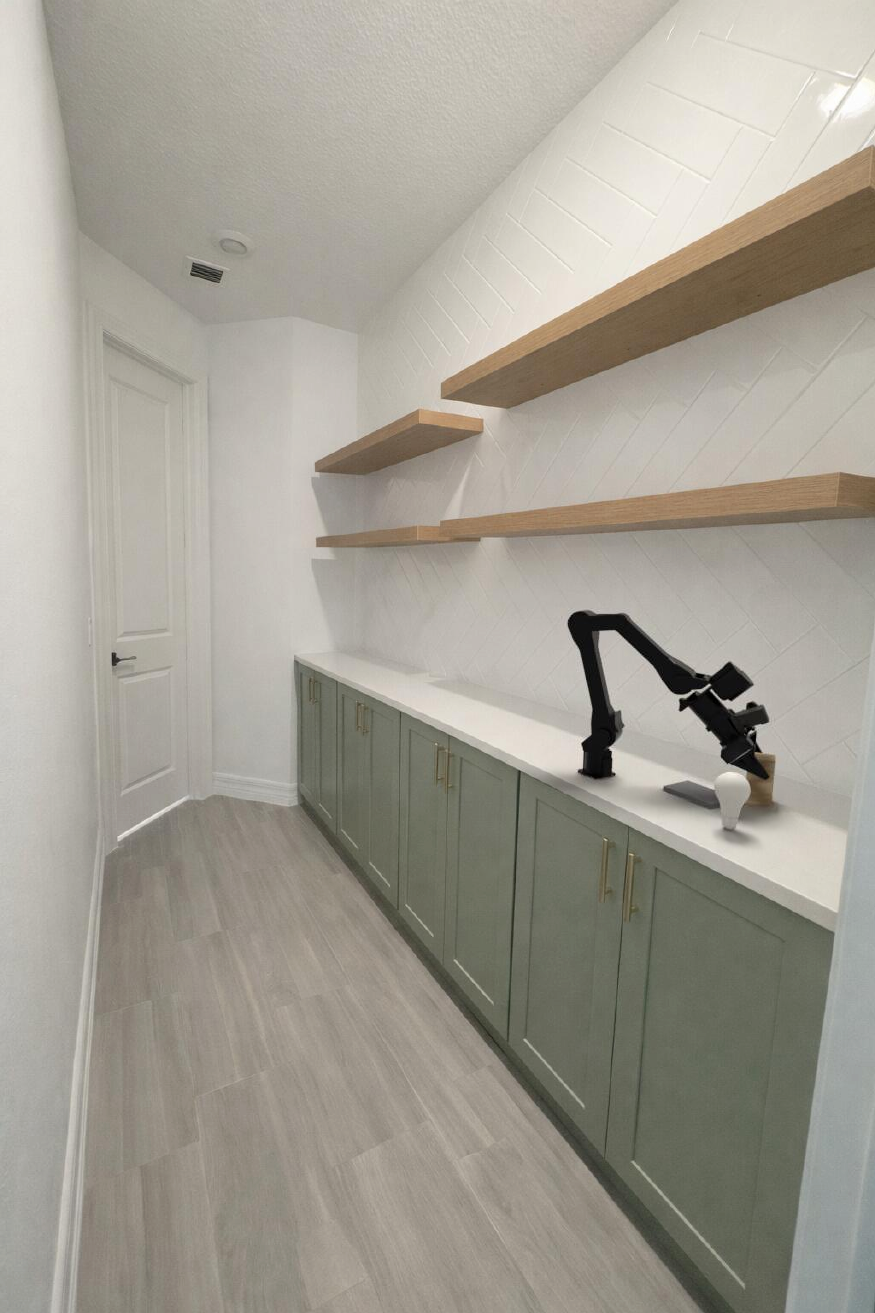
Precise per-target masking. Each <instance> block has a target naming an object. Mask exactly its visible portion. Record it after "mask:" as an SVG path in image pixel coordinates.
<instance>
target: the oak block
mask: <svg viewBox="0 0 875 1313" xmlns="http://www.w3.org/2000/svg"><path fill="white" fill-rule="evenodd" d="M755 755H756V757H757V758H758V760H759V761H760V763H761V764H762V766H763V767H764V769H765V770H766V772H767V773H768V775H769V776H770V777H769V778H768V779H767V780H764V779H762V778H760V777H758V776H756V775H754V774H752V773H750V772H747V771H746V777H745V778H746V779H747V781H748V782H749V785H750V789H751V792H750V796H749V798H748V799H747V801H746V802H745V803H744V804H745V805H751V806H755V807H761V808H767V809H772V802H773V792H774V784H775V772H776V755H775V754H770V753H764V752H763V753H756V752H755ZM744 804H743V805H744Z"/></svg>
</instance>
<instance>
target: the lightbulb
mask: <svg viewBox="0 0 875 1313" xmlns="http://www.w3.org/2000/svg"><path fill="white" fill-rule="evenodd" d="M713 790H715V793H716V796H717V798H718V800H719V802H720V814H721V825H722V827H724V828H725V829H727V830H733V829H735V828H737V826H738V819H739V817H740V813H741V810H742V807H743V806H744V803H745V802H746V801H747V799H748V798H749V796H750V792H751V789H750V785H749V782H748V781H747V779H746V777H745V776H744V775H742V774H740V773H739V772H736V771H728V772H726V771H725V772H723V773H721V774H719V776H717V778H716V779H715V780H714V784H713Z"/></svg>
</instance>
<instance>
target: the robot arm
mask: <svg viewBox="0 0 875 1313" xmlns="http://www.w3.org/2000/svg"><path fill="white" fill-rule="evenodd" d="M567 629H568V631H569V633H570V637H571V638H572V641H573V642H574V644H575V645H576V647H577V648H578V650H579V654H580V657H581V663H582V664H581V665H582V667H583V668H582V669H583V672H584V676H585V682H586V686H587V690H588V691H587V692H588V694H589V699H590V706H591V709H592V710H591V719H590V735H589V736H588V737H587V738H585V739H584V740H583V741H582V742H581V743H580V745H581V749H582V751H583V752H582V753H583V755H582V768H579V769H577V772H578V773H580V774H583V775H585V776H587V777H589V778H591V779H594V780H599V779H605V778H609V777H613V776H616V775H617V774H616V772H613V759H614V758H613V750H611V749H610V747H612V746H613V745H614V744H616V742H617V741H618V740H619V739H620V738H621V737H622V735H623V731H624V730H623V729H624V728H625V724H624V722H623V718H622V710H621V709H618V710H616V711H615V709H614V707H613V705H612V703H611V700H610V694H609V691H608V685H607V681H606V675H605V672H604V667H603V662H602V657H601V654H600V648H599V642H600V633H601V632H606V631H607V632H609V631H615V632H617V633H618V634H619V635H620V636H621V637H622V638H623V639H624V641H626V642H627V643H628V644H629V645H630V646H631V647H632V648H634V649H635V650H636V651H637V652H638V653H639V654H640V656H642V657H643V658H644V659H645V660H646V661H647V662H648V663H649V664H650V665H651V666H652V667H653V669H654V670H655V671H656V672H657V675H658V676H659V678H660V679H661V681H662V682H663V683H664V685H665V686H666V687H667V689H668V690H669V692H671V693H672V694H673V695H675V696H684V695H688V694H689V693H690V694H689V695H688V696H687V697H680V698H679V699H678V702H679V705H678V706H679V707H678V711H679V712H680V713H681V712H683V711H684V710H686V709H687V708H689V709H690V710H691V711H692V713H693V714H694V715H695V716H696V717H697V718H698V719H699V720H700V721H701V722H702V724H703V725H704V726H705V730H706V731H707V732H708V733H709V732H710V733H712V735H714V737H716V739H717V740H718V741H719V745H720V746H721V750H720V758H721V759H722V760H723V762H724V763H725V764H726V765H731V766H734V767H737V768H739V769H742V770H744V771H746V773H747V772H750V773H752V774H754V775H756V776H758V777H760V778H762V779H764V780H767V779H768V778H769V777H770V776H769V775H768V773H767V772H766V770H765V769H764V767H763V766H762V764H761V763H760V761H759V760H758V758H757V757H756V755H755V752H756V753H764V752H763V751H762V749H761V747H760V746H759V744H758V742H757V736H758V730H757V729H756V728H757V727H756V726H759V725H761V726H762V725H766V724H768V723H770V717H769V714H768V712H767V710H766V707H765V705H764V704H761V703H760V704H758V703H757V702H755V701H754V700H752V701H749V702H746V705H745V709H741V710H740V711H737V712H736V711H735V710H734V709H733V708H730V707H729V708H727V707H726V706H725V704H724V703H723V702H724V701H727V700H728V701H730V702H733V701H735V699H738V698H739V697H740V696H741V695H742V694H744V693H745V692H747V691H748V690H749V689H751V688H752V687H754V686H755V683H754V682H753V680H752V679H751V678H750V676H748V674H747V673H746V672H745V671H743V670H741V669H740V668H739V667H738V666H737V665H736V664H734V663H733V662H732V661H731V660H730V661H727V662H726V663H725V664H724V665H723V666H722V667H721V668H720V669H719V670H717V671H716V672H715V673H714V674H712V675H710V674H706V673H700V672H696V671H695V669H694V668H692V667H690V666H689V665H688V664H686V663H685V662H683V661H681V660H680V659H678V658H676V657H675V656H673V655H671V654H670V653H668V652H667V651H666V650H665V649H663V647H661V645H659V644H658V643H657V642H656V641H655V640H654V639H652V638H651V637H650V635H649V634H647V633H646V632H645V631H644V630H643V629H642V628H641V627H640V626H639V625H638V624H636V622H634V620H632V618H631V617H630V616H629V614H627V613H626V612H625V613H624V612H619V613H596V612H594V611H593V610H591V609H583V610H578V611H575V612H573V613H571V614H570V616H569V617H568V619H567ZM707 686H708V687H707ZM698 690H703V691H701V692H700V691H698ZM711 690H712V691H711ZM692 691H693V692H692ZM691 692H692V693H691ZM720 700H721V701H720ZM722 701H723V702H722ZM751 731H752V732H751ZM750 732H751V733H750Z"/></svg>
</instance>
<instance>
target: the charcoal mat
mask: <svg viewBox="0 0 875 1313" xmlns="http://www.w3.org/2000/svg"><path fill="white" fill-rule="evenodd" d="M662 790H663V791H664V792H667V793H669V794H671V795H673V796H675V797H676V796H677V797H679V798H681V799H685V800H686V801H689V802H692V803H695V804H697V805H700V806H702V807H704V808H708V809H710V810H712V809H715V808H721V806H720V802H719V800H718V798H717V796H716V793H715V790H714V788H709V787H707V786H704V785H703V784H699V783H696V782H693V781H691V780H683V781H678V782H675V783H671V784H666V785H663V789H662Z"/></svg>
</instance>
